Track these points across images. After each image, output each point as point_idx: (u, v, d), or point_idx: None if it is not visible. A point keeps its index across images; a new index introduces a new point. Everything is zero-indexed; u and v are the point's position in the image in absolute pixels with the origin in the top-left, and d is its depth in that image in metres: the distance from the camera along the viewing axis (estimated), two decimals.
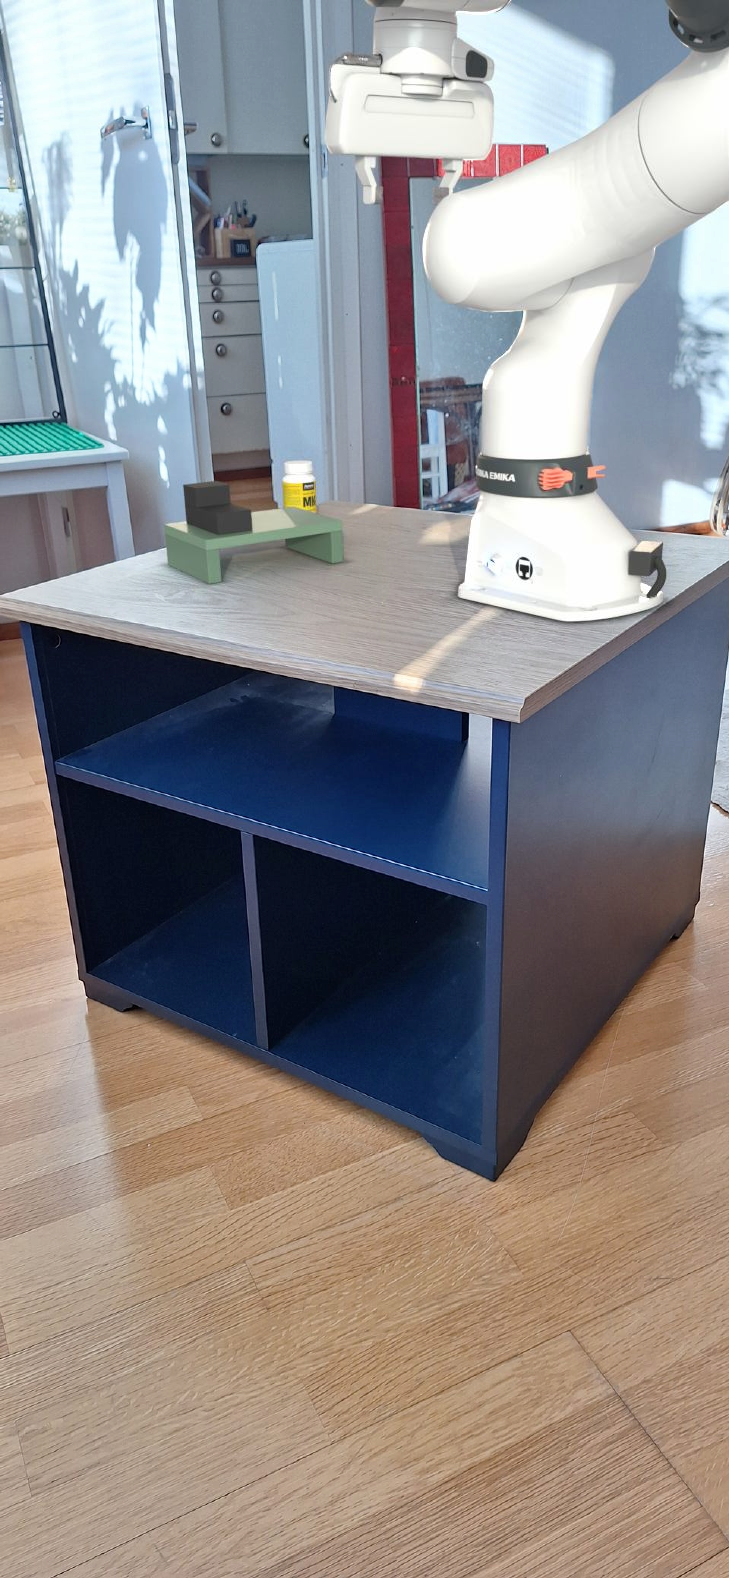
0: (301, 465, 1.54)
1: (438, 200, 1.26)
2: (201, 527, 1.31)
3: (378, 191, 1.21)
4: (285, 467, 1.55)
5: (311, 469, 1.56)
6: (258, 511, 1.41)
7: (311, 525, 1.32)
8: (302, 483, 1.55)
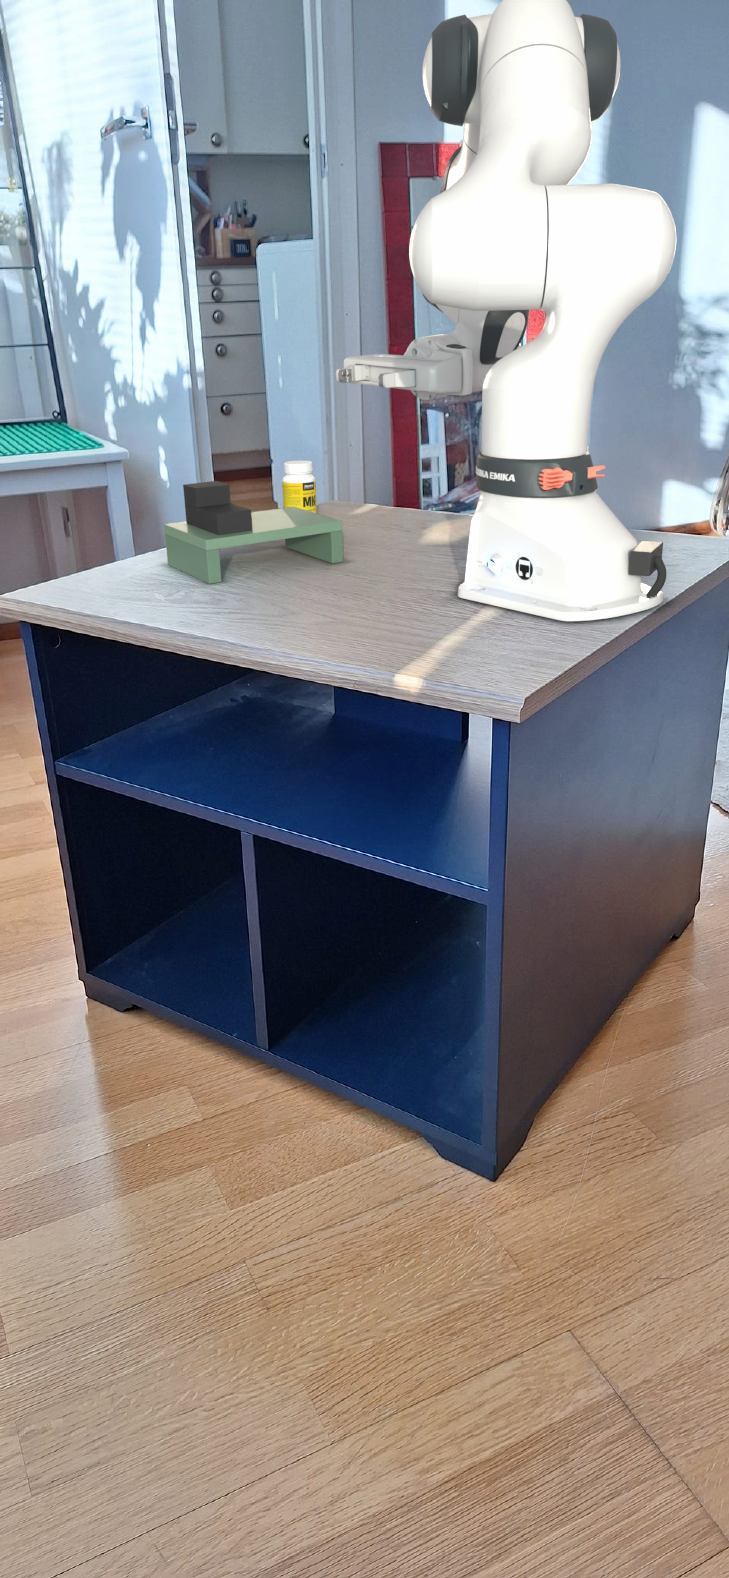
0: (301, 465, 1.54)
1: None
2: (201, 527, 1.31)
3: (346, 369, 1.61)
4: (285, 467, 1.55)
5: (311, 469, 1.56)
6: (258, 511, 1.41)
7: (311, 525, 1.32)
8: (302, 483, 1.55)
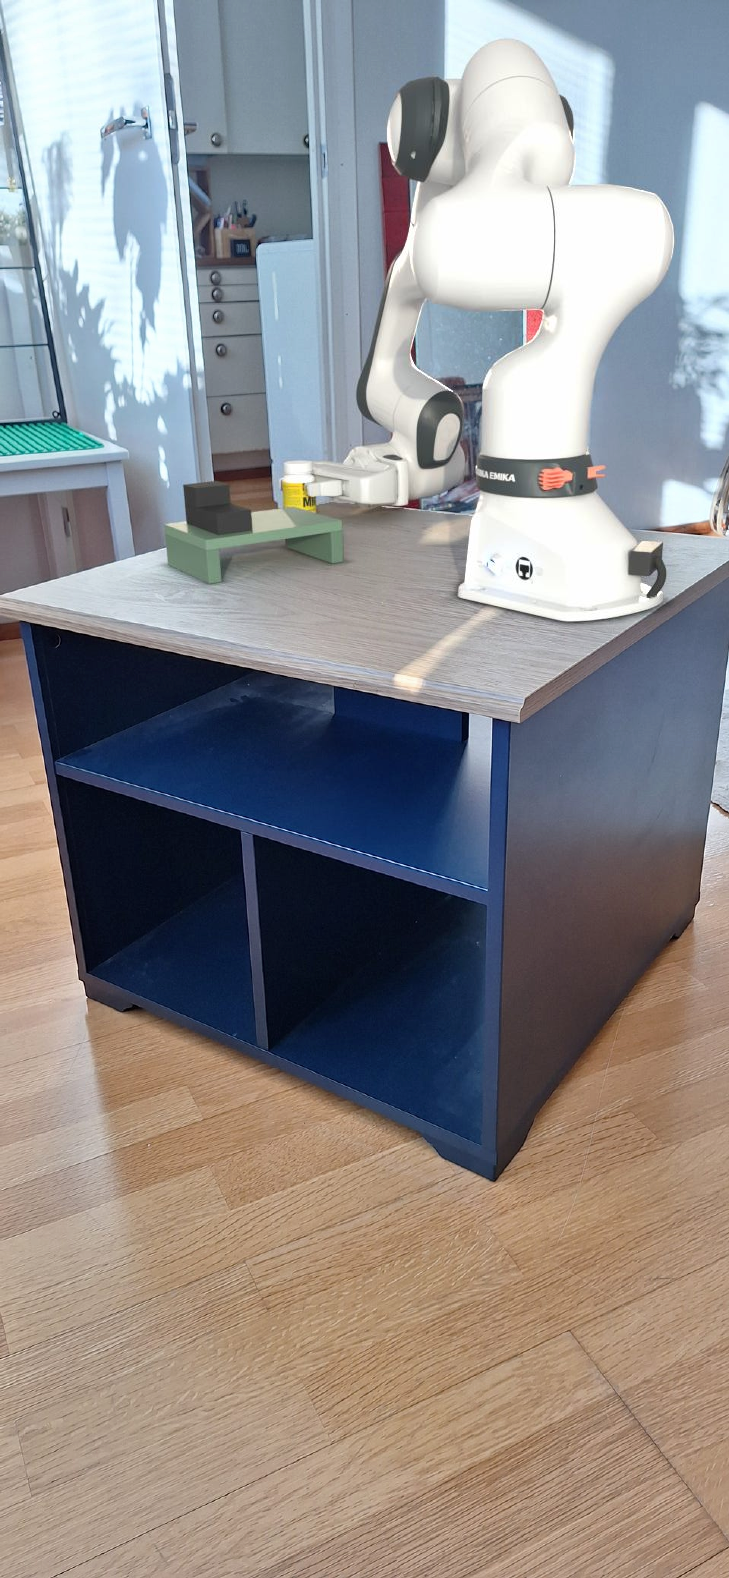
0: (301, 465, 1.54)
1: None
2: (201, 527, 1.31)
3: None
4: (285, 467, 1.55)
5: (311, 469, 1.56)
6: (258, 511, 1.41)
7: (311, 525, 1.32)
8: (302, 484, 1.55)
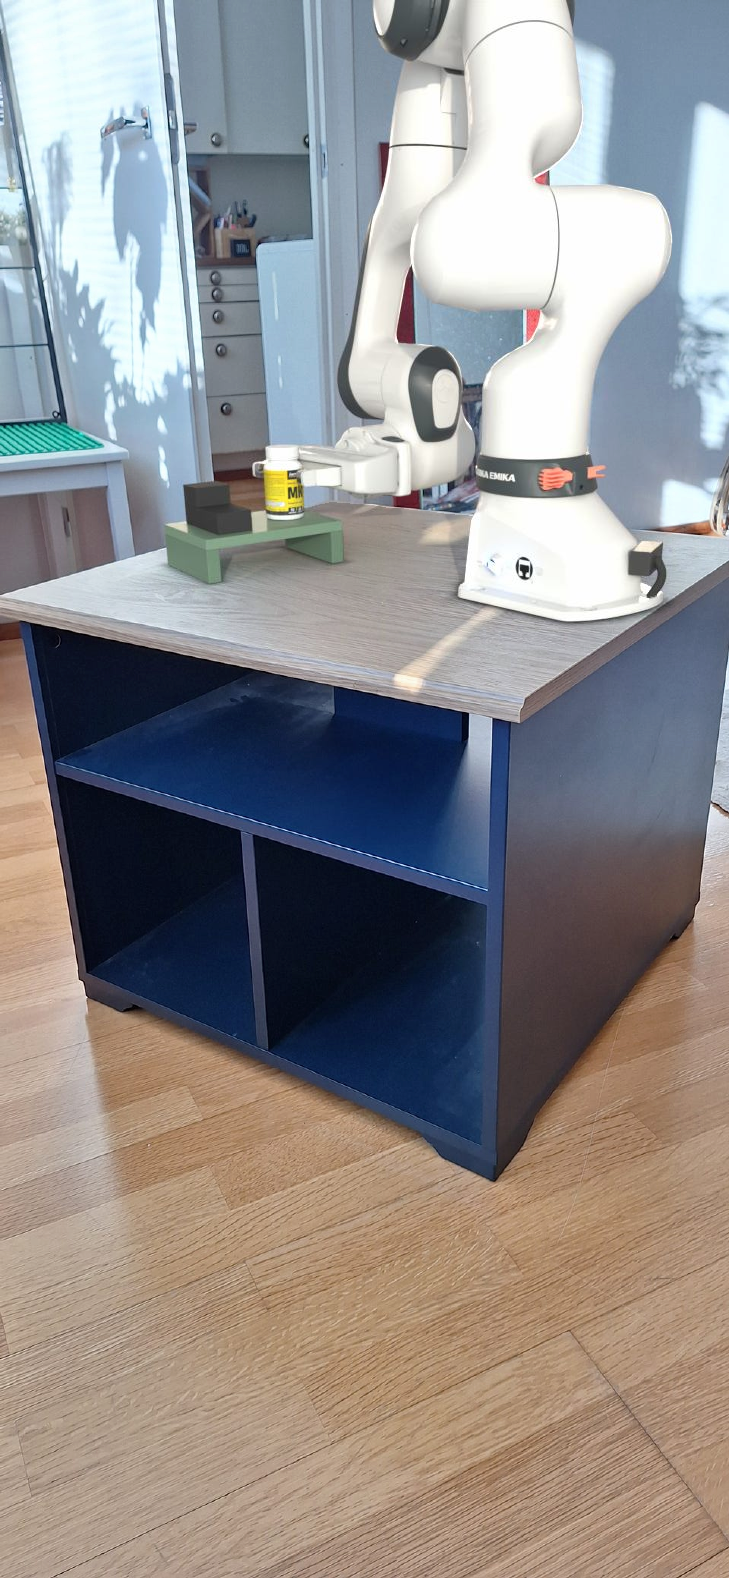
0: (285, 449, 1.32)
1: None
2: (201, 527, 1.31)
3: (265, 462, 1.37)
4: (267, 452, 1.33)
5: (297, 454, 1.33)
6: (258, 511, 1.41)
7: (311, 525, 1.32)
8: (286, 471, 1.32)
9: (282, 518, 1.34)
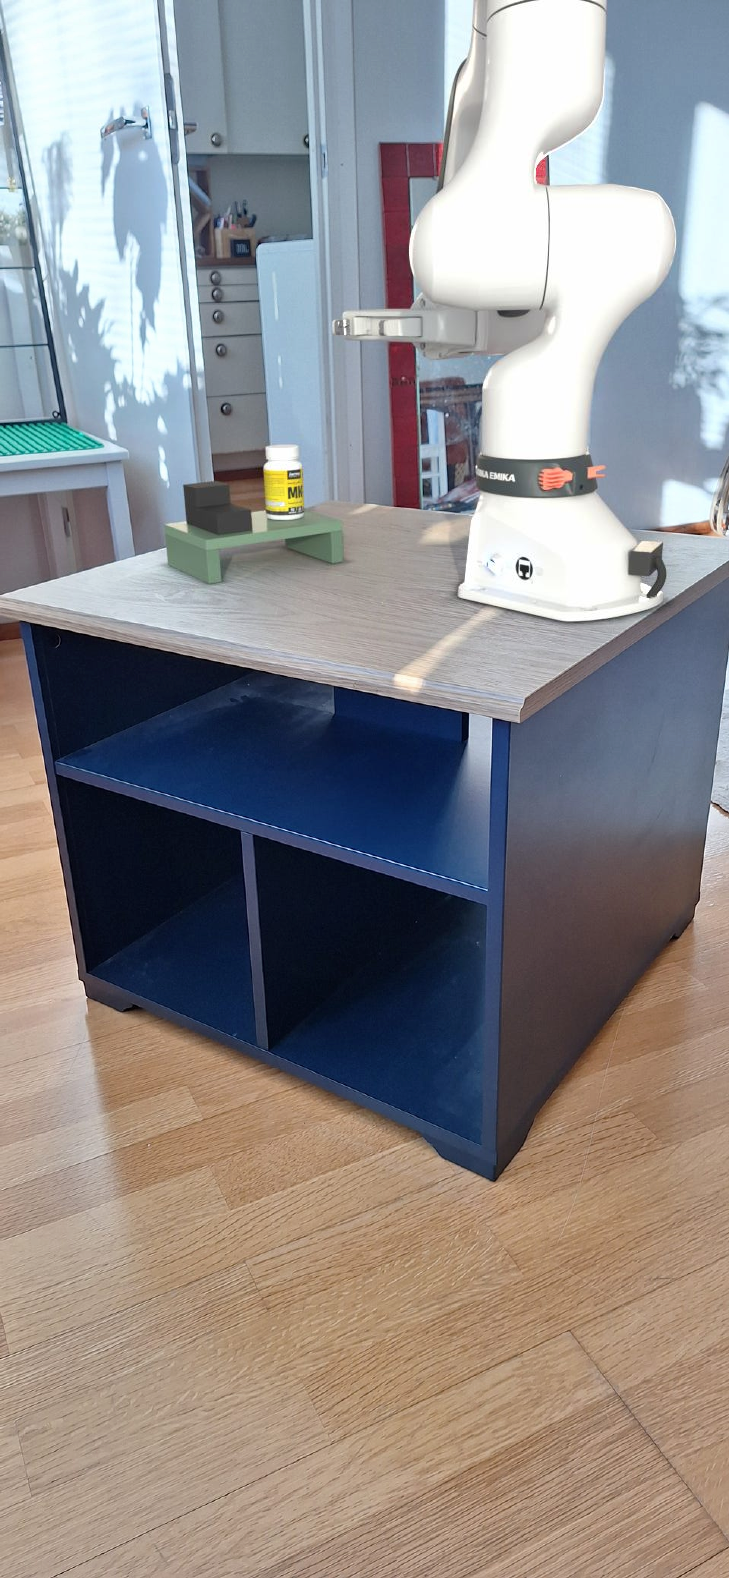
0: (285, 449, 1.32)
1: None
2: (201, 527, 1.31)
3: (344, 319, 1.41)
4: (267, 452, 1.33)
5: (297, 454, 1.33)
6: (258, 511, 1.41)
7: (311, 525, 1.32)
8: (286, 471, 1.32)
9: (282, 518, 1.34)
